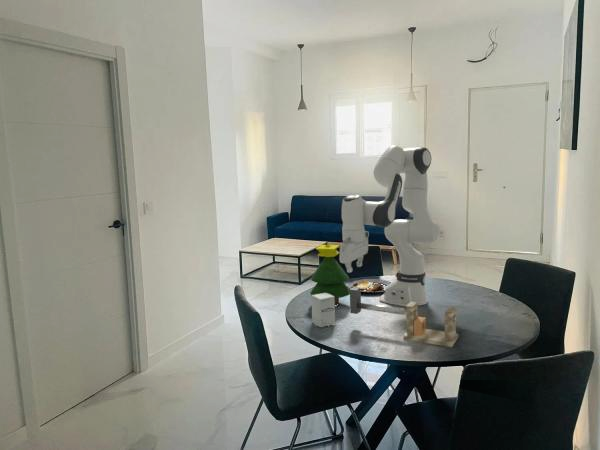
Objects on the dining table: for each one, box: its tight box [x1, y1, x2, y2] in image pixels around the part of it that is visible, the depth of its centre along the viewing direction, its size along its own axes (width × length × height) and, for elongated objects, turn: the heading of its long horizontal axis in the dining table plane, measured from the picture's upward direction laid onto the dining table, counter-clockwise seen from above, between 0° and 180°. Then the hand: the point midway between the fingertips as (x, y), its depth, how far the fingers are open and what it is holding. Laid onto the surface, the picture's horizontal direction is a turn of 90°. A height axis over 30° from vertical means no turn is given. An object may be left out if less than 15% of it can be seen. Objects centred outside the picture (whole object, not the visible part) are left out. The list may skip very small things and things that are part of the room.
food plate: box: [346, 278, 393, 294], centre depth 245 cm, size 25×23×4 cm
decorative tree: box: [310, 243, 350, 305], centre depth 220 cm, size 19×19×30 cm
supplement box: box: [310, 293, 336, 328], centre depth 196 cm, size 7×7×13 cm
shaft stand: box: [403, 302, 459, 348], centre depth 177 cm, size 18×10×12 cm, turn 59°
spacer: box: [414, 316, 427, 336], centre depth 179 cm, size 3×5×5 cm, turn 149°
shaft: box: [349, 287, 406, 316], centre depth 187 cm, size 22×4×10 cm, turn 59°
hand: (354, 269), depth 190 cm, fingers open, 8 cm apart
